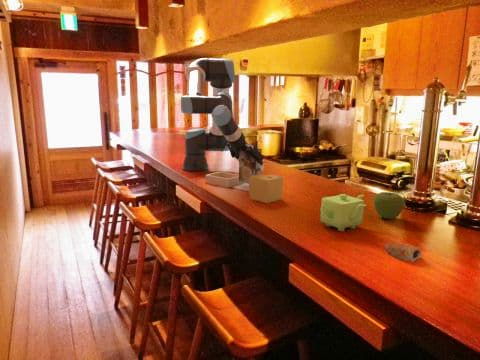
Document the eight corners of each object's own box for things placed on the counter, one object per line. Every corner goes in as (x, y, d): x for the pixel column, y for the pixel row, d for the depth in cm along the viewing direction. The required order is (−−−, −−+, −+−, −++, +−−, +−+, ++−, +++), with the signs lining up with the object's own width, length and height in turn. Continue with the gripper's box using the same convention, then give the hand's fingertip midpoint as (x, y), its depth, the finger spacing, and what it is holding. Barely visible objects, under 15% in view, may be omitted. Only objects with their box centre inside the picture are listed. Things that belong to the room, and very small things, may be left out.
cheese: (264, 195, 169) (265, 172, 167) (283, 200, 162) (284, 176, 159) (248, 198, 162) (248, 175, 160) (267, 204, 154) (268, 180, 152)
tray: (220, 179, 198) (220, 171, 197) (243, 183, 190) (243, 175, 189) (205, 182, 189) (205, 174, 188) (228, 187, 181) (228, 179, 180)
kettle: (361, 221, 136) (364, 191, 133) (366, 235, 122) (370, 201, 120) (318, 218, 138) (320, 188, 136) (319, 231, 125) (321, 198, 122)
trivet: (246, 184, 189) (246, 182, 188) (265, 187, 182) (265, 186, 182) (233, 187, 180) (233, 186, 180) (252, 191, 174) (252, 190, 173)
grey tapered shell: (379, 252, 109) (380, 239, 108) (392, 247, 113) (394, 235, 112) (410, 264, 102) (411, 251, 101) (423, 258, 106) (425, 245, 105)
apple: (365, 215, 142) (368, 189, 140) (385, 212, 147) (387, 187, 145) (389, 224, 133) (392, 197, 131) (409, 220, 138) (412, 193, 136)
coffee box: (261, 182, 181) (262, 148, 178) (255, 184, 175) (256, 150, 172) (244, 179, 185) (245, 147, 182) (237, 182, 180) (238, 148, 176)
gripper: (210, 140, 170) (231, 170, 186) (251, 144, 157) (270, 176, 173) (218, 127, 173) (238, 158, 189) (259, 131, 161) (277, 163, 176)
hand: (253, 167), depth 181 cm, fingers closed on coffee box, 10 cm apart
